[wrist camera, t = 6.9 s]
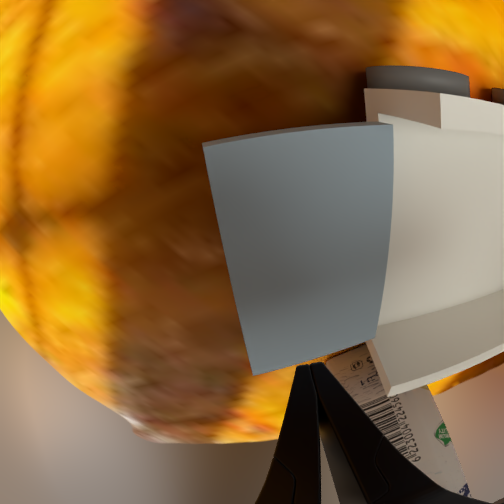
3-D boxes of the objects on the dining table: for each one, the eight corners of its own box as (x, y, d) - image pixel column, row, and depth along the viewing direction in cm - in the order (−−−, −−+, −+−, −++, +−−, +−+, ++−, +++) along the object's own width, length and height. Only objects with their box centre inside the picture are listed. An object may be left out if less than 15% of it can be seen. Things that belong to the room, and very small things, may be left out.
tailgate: (393, 124, 11) (203, 147, 10) (374, 337, 17) (253, 375, 16) (366, 119, 13) (201, 140, 12) (359, 316, 19) (246, 349, 18)
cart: (521, 97, 14) (603, 124, 5) (495, 275, 23) (545, 333, 15) (342, 69, 14) (436, 58, 6) (346, 311, 24) (383, 406, 15)
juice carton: (340, 400, 31) (381, 598, 8) (312, 357, 26) (360, 631, 3) (407, 371, 29) (472, 564, 6) (398, 318, 25) (496, 582, 1)
